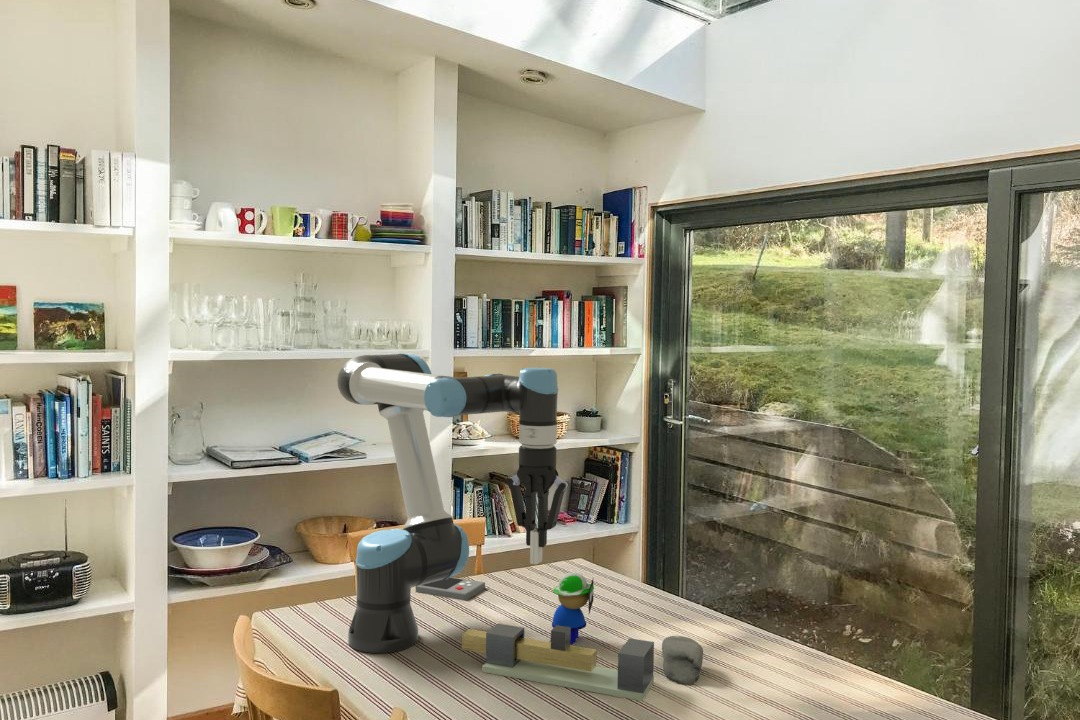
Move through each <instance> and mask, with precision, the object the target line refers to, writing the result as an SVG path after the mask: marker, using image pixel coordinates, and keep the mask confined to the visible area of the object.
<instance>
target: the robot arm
mask: <svg viewBox="0 0 1080 720" xmlns="http://www.w3.org/2000/svg"><path fill="white" fill-rule="evenodd" d="M336 382H337V388H338V390H339V393H340V394H341V396H342V397H343V398H344V399H345V400H346V401H348V402H349V403H351V404H354V405H365V406H368V405H369V406H370V405H377V408H378V412H379V416H381V417H383V419H385V420H387V424H388V429H389V433H390V435H389V436H390V439H391V443H392V449H393V454H394V458H395V463H396V467H397V474H398V478H399V484H400V488H401V493H402V497H403V503H404V507H405V508H404V509H405V511H406V517H407V520H406V522H405V523H404V525H403V527H402V528H401V529H400V528H390V529H381V530H378V531H377V530H376V531H374V532H372V533H369V534H367V535H365V536H364V537H362V538H361V539H360V541H359V542H358V544H357V548H356V558H355V564H356V607H355V610H354V614H353V616H352V619H351V622H350V625H349V629H348V635H347V636H348V637H347V638H348V639H347V640H348V642H347V643H348V645H349V646H350V647H351V648H352V649H354V650H356V651H360V652H364V653H371V654H385V653H396V652H399V651H403V650H405V649H408V648H411V647H412V646H414V645H415V644H416V643H417V642H418V640H419V626H418V624H417V621H416V617H415V615H414V612H413V608H412V604H411V591H412V590H411V589H412V588H414V587H415V588H416V586H419V585H423V584H427V583H431V582H435V581H439V580H445V579H448V578H449V577H455V576H457V575H459V574H461V573H462V572H463V570H464V569H465V567H466V564H467V563H468V561H469V556H470V542H469V538H468V535H467V533H466V532H465V531H464V529H463V527H461V526H460V525H457V524H454V523H455V522H454V519H453V516H452V514H450V513H448V512H447V511H446V510H445V509H444V507H445V506H444V504H443V499H442V494H441V489H440V485H439V480H438V477H437V476H438V475H437V471H436V466H435V461H434V457H433V452H432V448H431V444H430V439H429V433H428V429H427V424H426V420H425V419H426V418H425V416H424V411H428V412H429V413H430V415H432V416H434V417H437V418H453V417H457V416H458V417H459V416H467V415H478V414H479V415H480V414H492V413H500V412H501V413H503V412H505V413H506V412H507V413H514V414H518V415H519V419H518V420H519V421H518V426H519V428H518V432H519V433H518V441H519V444H520V446H519V447H518V468H517V470H516V474H515V475H513V476H510V477H508V478H506V480H505V483H506V485H507V487H508V488H509V491H510V496H511V500H512V505H513V509H514V514H515V519H516V525H517V526H519V527H522V528H524V529H525V533H526V534H525V537H526V538H525V545H526V546H528V547H529V548H530V549H529V550H530V552H529V564H531V565H539V564H540V563H541V562H542V561H543V548H545V547H546V546H547V542H548V530H551V529H553V528H555V527H556V526H557V523H558V518H559V515H560V511H561V506H562V503H563V497H564V495H565V491H566V490H567V489H568V487H569V485H570V483H569V481H567V480H563V479H562V478H561V477H559V472H558V470H557V447H556V446H555V445H556V444H557V441H558V440H557V439H558V438H557V435H558V430H557V429H558V428H557V427H558V425H557V422H558V420H557V417H558V416H557V415H558V392H559V387H558V374H557V371H556V370H555V369H554V368H552V367H551V368H550V367H536V366H535V367H524V368H521V369H520V371H519V376H517V375H516V376H515V375H508V374H503V373H489V374H485V375H483V376H465V377H464V376H463V377H459V376H458V377H457V376H456V377H455V376H449V375H446V376H445V375H439V374H433V373H432V370H431V368H430V366H429V365H428V363H427V362H426V361H425V360H424V359H423V358H421V357H420V356H418V355H417V354H408V353H401V352H400V353H396V354H395V353H394V354H372V355H371V354H363V355H358V356H355V357H353V358H351V359H349V360H348V361H346V362H345V363H344V364H343V365H342V366H341V368H340V370H339V373H338V375H337V381H336ZM520 484H522V486H523V488H524V496H525V503H524V498H523V494H522V489H521V486H520ZM553 485H554V488H555V491H554V493H553V497H552V502H551V506H550V510H549V494H550V489H551V488H552V487H553ZM536 513H537V514H536ZM536 515H537V516H536ZM536 517H537V519H536ZM536 520H537V524H536Z"/></svg>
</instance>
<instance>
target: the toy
mask: <svg viewBox="0 0 1080 720" xmlns="http://www.w3.org/2000/svg"><path fill="white" fill-rule="evenodd" d="M594 590H595V586H594V578H592V580H591V582H590V583H588V581H587V579H586V577H584V576H583V574H582V573H578V572H576V571H575V572H574V571H570V572H568V573H565V574H564V575H562V577H560V579H559V581H558V586H556V587H554V588H553V589H552V592H553V594H555V595H557V596H558V597H557V599H558V601H559V603H560V605H558V607H557V608H556V609H555V612H554V614H553V618H552V623H551V627H552V629H553V628H554V627H555V626H556V625H559V626H565V627H571V634H570V645H573V644H575V643H577V639H579V630H582V629H583V630H584V628H586V627H587V621H586V620H585V619H586V618H585V615H584V612H583V611H582V609H581V608H583V607H585V606H586V604H588V615H590V613H591V609H592V607H593V603H594Z"/></svg>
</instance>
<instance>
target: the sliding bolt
mask: <svg viewBox="0 0 1080 720" xmlns="http://www.w3.org/2000/svg"><path fill="white" fill-rule="evenodd" d="M487 632H488V631H483V630H478V629H471V628H469V629H467V630H465V631H464V632H463V633H462V634H461V637H462V639H461V649H462V650H463V651H470V652H473V653H475V652H476V653H481V654H486V633H487ZM570 634H571V627H565V626H559V625H556V626H555V627H554V628H553V627H552V629H551V630H550V641H545V640H541V639H540V640H539V639H533V638H527V637H524V638H522V637H518V638H517V639H516V640H515V659H521V660H526V661H532V662H538V663H544V664H550V665H555V666H561V667H567V668H573V669H578V670H584V671H590V672H591V671H592V670H593V669H594V668H595V666H597V652H598V651H597V649H595V648H588V647H583V646H576V645H572V644H570Z"/></svg>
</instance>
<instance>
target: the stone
mask: <svg viewBox="0 0 1080 720" xmlns="http://www.w3.org/2000/svg"><path fill="white" fill-rule="evenodd" d="M661 652H662V660H663V662H662V663H663V664H662V666H663V667H662V669H663V673H664V675H665V677H666V679H668V680H669V681H672V682H674V683H676V684H677V685H687V686H690V685H694V684H695V683H696V682H697V681H698V680H699V677H700V675H701V671H702V666H703V656H704V649H703V647H702V646H701V644H700V643H699V642H697V641H696V640H694V639H693V638H690V637H688V636H682V635H671V636H670V635H669V636H668V637H665V638H664V639H663V640H662V643H661Z"/></svg>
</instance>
